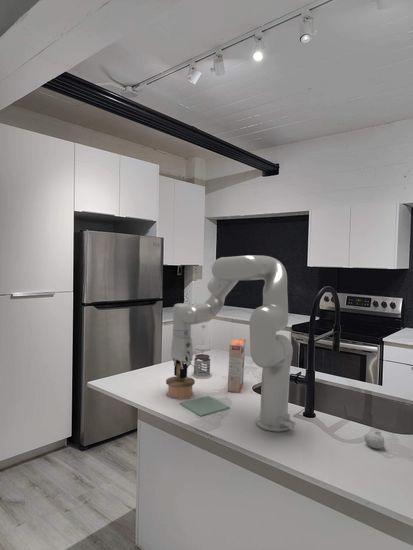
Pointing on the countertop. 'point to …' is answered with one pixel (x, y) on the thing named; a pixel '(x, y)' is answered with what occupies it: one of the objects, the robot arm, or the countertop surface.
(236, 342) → the cracker box
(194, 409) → the mat
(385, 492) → the countertop surface
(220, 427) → the countertop surface
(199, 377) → the french press
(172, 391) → the bowl
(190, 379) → the lid
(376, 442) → the garlic
